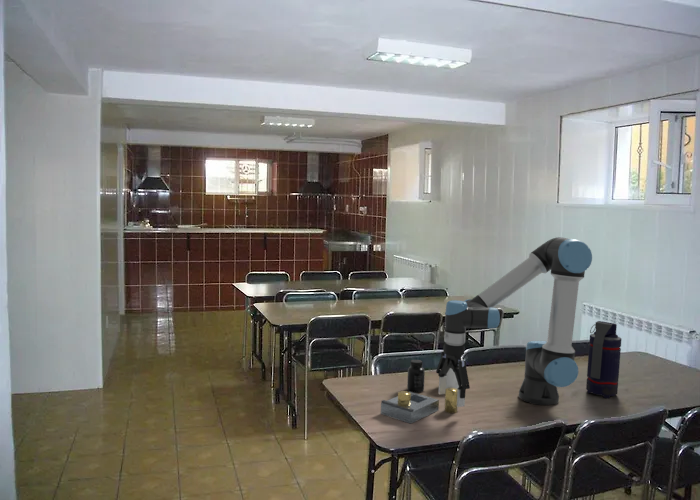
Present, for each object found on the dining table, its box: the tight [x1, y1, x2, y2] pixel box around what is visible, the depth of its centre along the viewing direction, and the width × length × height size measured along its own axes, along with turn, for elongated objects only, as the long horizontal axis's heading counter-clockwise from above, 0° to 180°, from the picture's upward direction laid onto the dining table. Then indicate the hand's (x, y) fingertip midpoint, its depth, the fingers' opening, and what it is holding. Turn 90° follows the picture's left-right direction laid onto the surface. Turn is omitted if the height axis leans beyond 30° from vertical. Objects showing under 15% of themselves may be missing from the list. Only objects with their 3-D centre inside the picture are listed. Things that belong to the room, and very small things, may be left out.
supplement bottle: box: [406, 359, 426, 393], centre depth 237 cm, size 7×7×12 cm
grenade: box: [585, 320, 622, 399], centre depth 239 cm, size 14×12×30 cm
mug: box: [444, 357, 464, 389], centre depth 241 cm, size 12×8×12 cm
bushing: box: [444, 388, 458, 414], centre depth 215 cm, size 5×5×8 cm
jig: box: [380, 390, 440, 424], centre depth 212 cm, size 13×18×8 cm
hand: (451, 400), depth 215 cm, fingers open, 13 cm apart
